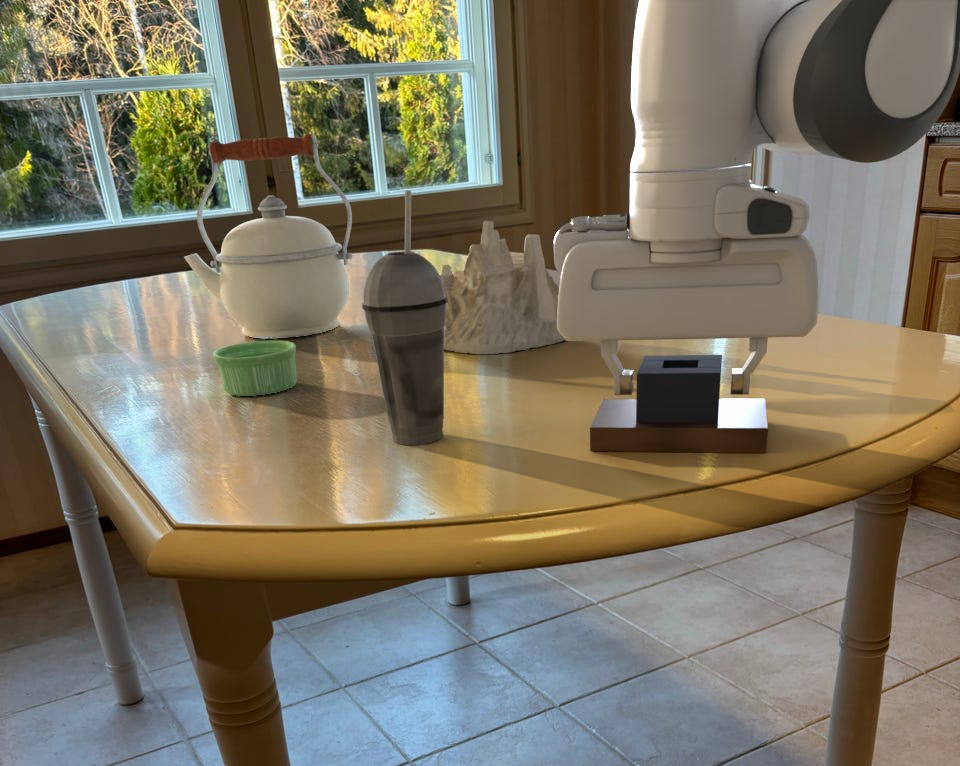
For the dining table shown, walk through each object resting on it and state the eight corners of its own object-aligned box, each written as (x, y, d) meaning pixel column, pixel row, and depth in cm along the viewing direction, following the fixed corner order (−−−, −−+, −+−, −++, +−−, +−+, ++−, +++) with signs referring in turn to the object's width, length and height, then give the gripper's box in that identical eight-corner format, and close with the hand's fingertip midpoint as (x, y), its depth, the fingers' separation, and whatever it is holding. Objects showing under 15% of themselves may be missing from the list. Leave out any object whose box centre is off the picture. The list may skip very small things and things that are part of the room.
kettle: (377, 315, 142) (356, 131, 130) (350, 339, 127) (323, 131, 115) (221, 323, 146) (187, 144, 134) (176, 347, 130) (132, 146, 118)
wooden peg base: (763, 421, 81) (768, 362, 78) (766, 453, 73) (771, 389, 71) (603, 420, 84) (603, 364, 82) (589, 451, 77) (589, 390, 74)
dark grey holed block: (719, 402, 80) (722, 354, 78) (717, 423, 74) (720, 372, 72) (643, 402, 81) (643, 355, 79) (636, 423, 76) (636, 373, 74)
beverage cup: (368, 433, 85) (338, 194, 76) (443, 421, 87) (423, 186, 78) (390, 454, 79) (360, 197, 70) (469, 441, 81) (451, 188, 72)
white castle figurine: (584, 338, 116) (574, 207, 109) (466, 364, 110) (448, 227, 104) (527, 329, 129) (515, 211, 122) (418, 351, 123) (399, 229, 117)
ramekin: (315, 379, 106) (310, 340, 104) (275, 400, 99) (268, 358, 97) (249, 378, 109) (242, 339, 107) (204, 397, 102) (196, 357, 100)
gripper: (545, 221, 70) (550, 403, 77) (831, 207, 65) (810, 403, 72) (559, 214, 75) (563, 384, 82) (824, 200, 71) (805, 383, 77)
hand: (680, 393), depth 77 cm, fingers open, 8 cm apart
